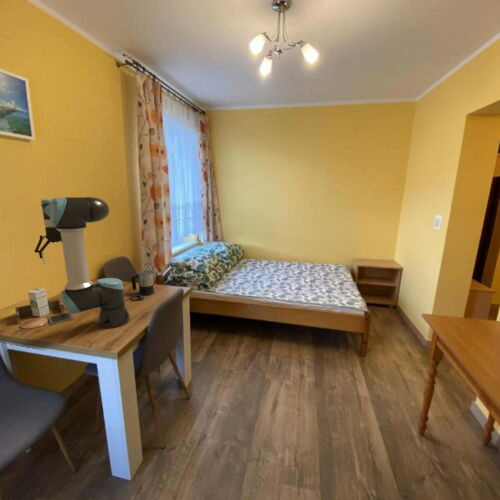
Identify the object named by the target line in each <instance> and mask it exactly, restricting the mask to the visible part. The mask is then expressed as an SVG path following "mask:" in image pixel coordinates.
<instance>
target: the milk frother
mask: <svg viewBox="0 0 500 500" xmlns="http://www.w3.org/2000/svg"><path fill="white" fill-rule="evenodd" d="M136 278H138V287H139V288H138V289H139V290H138V291H139V292H138V293H136V292H132V293H131V296H132V297H133V298H135V299H138V300H144V299H145V297H146V296H151V295H154V294H155V291H154V290H155V288H154V271H153V270H141V271H139V272H138V273H136V274H134V275H132V277H131V278H130V280H131V286H132V290H133V291H136V290H137V283H136Z"/></svg>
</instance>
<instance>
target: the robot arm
mask: <svg viewBox="0 0 500 500" xmlns="http://www.w3.org/2000/svg"><path fill="white" fill-rule="evenodd" d="M40 203H41V205H40V207H41V211H42V216H43V223H44V230H45V235H39V240H38V242H37V244H36V247H35V249H34V253H38V256H39V259H42V264H43V265H46V261H45V254H44V250H45V249H46V248H47V247H48V245H49V244H50V243H52V244H53V243H60V242H61V245H62V251H63V257H64V266H65V272H66V280H67V282H66V284H65V285H64V290H61V291H60V295H61V301H62V303H63V305H64V308H65V310H66V311H67V313H68V312H69V313H70V314H71V315H73V314H78V313H80V314H81V313H82V312H87V311H90V310H93V309H97V308H100V310H99V314H98V319H97V325H98V327H100V328H102V329H113V328H119V327H121V326H124V325H126V324H127V323H129V321H130V320H131V315H130V313H129V310H128V308H127V307H126V301H125V292H124V291H125V288H124V284H123V281H122V280H121V279H119V278H117V277H116V278H115V277H105V278H100V279H97V280H96V283H95V284H94V282H93V281H92V280H90V278H89V276H90V275H89V269H88V261H87V260H88V259H87V254H86V253H87V252H86V244H85V243H86V242H85V236H84V230H85V229H86V228H87V223H96V222H100V221H102V220H104V219H106V218H107V217H108V215H109V214H110V207H109V204H108V203H107V202H106V201H105V200H104V199H101V198H98V197H94V196H93V197H92V196H87V197H85V196H84V197H83V196H79V197H78V196H74V197H70V196H67V197H65V196H64V197H55V198H48V199H47V198H46V199H45V198H44V199H41V201H40ZM45 239H46V241H45V243H44V244H43V245H41V244H42V243H43V240H45ZM41 246H42V247H41ZM40 247H41V248H40Z"/></svg>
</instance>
